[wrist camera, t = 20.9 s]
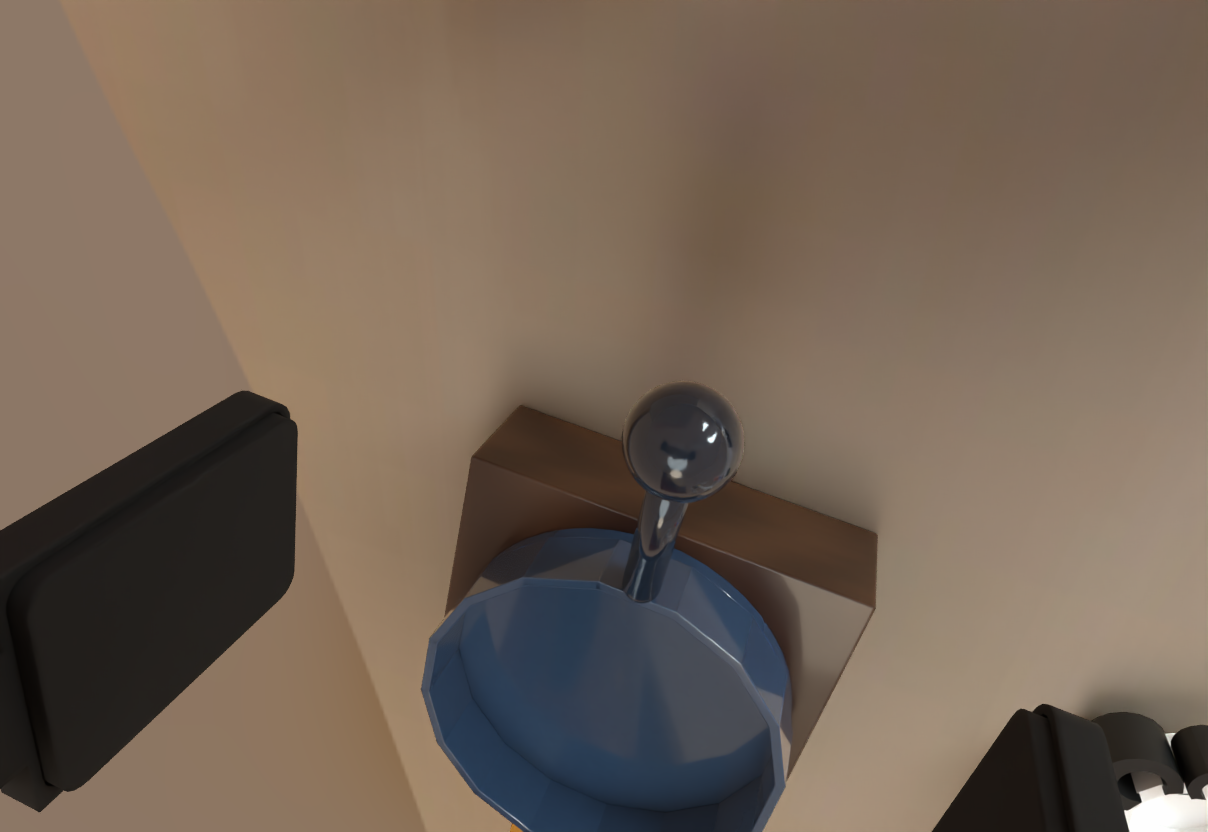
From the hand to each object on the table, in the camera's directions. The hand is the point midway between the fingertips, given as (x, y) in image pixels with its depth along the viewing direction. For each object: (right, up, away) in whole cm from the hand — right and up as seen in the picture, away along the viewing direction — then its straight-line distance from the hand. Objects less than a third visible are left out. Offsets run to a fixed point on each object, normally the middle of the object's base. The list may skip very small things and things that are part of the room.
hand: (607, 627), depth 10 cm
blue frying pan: (+1, -3, +16) cm, 16 cm away
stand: (+2, -4, +21) cm, 21 cm away
